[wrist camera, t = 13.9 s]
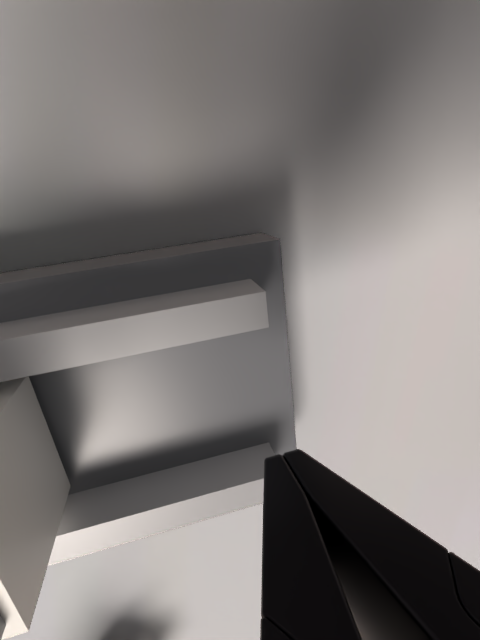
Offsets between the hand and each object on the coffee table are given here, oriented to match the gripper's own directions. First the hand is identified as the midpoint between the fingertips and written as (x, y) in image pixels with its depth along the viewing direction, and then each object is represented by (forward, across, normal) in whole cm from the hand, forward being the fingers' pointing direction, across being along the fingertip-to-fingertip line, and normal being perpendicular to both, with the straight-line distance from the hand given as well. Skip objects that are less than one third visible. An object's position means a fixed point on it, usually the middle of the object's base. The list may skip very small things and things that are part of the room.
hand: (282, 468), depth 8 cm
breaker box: (+6, +5, 0) cm, 8 cm away
